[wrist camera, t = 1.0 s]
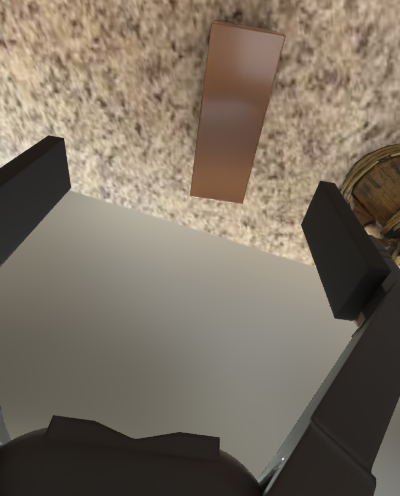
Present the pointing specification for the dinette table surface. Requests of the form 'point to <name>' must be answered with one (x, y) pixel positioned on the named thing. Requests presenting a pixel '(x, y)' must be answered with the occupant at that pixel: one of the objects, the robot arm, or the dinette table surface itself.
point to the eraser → (233, 108)
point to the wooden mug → (377, 199)
